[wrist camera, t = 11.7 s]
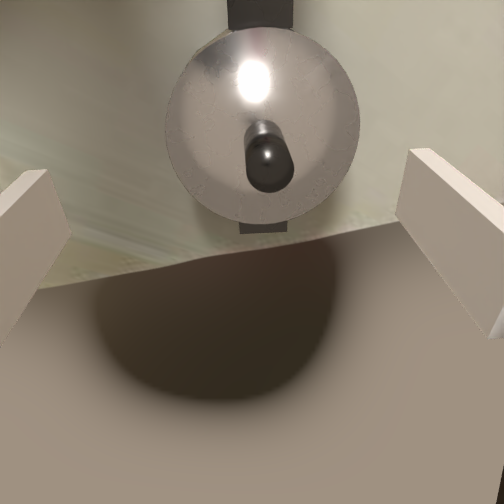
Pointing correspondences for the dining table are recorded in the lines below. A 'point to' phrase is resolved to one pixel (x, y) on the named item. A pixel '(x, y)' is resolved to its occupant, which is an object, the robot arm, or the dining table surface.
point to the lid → (262, 125)
